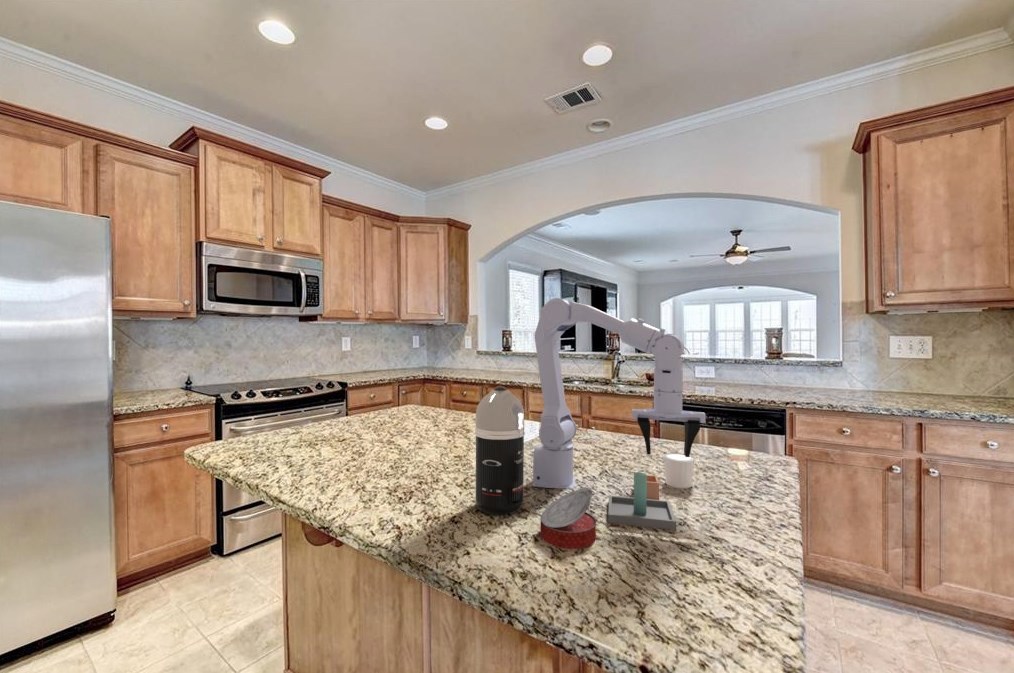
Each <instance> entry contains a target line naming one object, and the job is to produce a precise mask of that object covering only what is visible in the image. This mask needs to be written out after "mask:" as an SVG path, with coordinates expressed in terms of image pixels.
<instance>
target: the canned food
mask: <svg viewBox="0 0 1014 673" xmlns="http://www.w3.org/2000/svg"><path fill="white" fill-rule="evenodd" d="M592 496H593V490H591V489H590V488H588V487H585V488H579V489H576V490H573V491H570V492H568V493H567V494H564V495H562V496H560V497H559V498H557V499H555V500H554V501H552V502H550V504H549V505H548V506H547V507H545V508H544V511H543V512H542V514H541V515H540V518H539V519H540V528H539V529H540V531H539V532H540V533H539V534H540V538H541V539H542V541H544V542H545V543H546V544H548V545H550V546H553V547H556V548H561V549H567V550H577V549H584V548H588V547H589V546H592V545H594V543H595V542H596V539H597V521H596V518H595V516H593V515H591V514H590V513H588V512H587V510H588V509H589V507H590V505H591V504H590V503H591V500H592Z"/></svg>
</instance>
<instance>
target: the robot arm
mask: <svg viewBox="0 0 1014 673" xmlns="http://www.w3.org/2000/svg"><path fill="white" fill-rule="evenodd" d="M539 313H540V316H539V319H538V322H537V326H536V328H535V332H534V343H535V351H536V352H535V353H536V357H537V365H538V373H539V379H540V380H539V381H540V387H541V394H542V402H543V410H542V412H541V416H540V427H539V431H538V437H539V440H540V442H541V444H540V445H539V444H538V445H537V444H536V445H535V446H534V449H533V460H532V462H533V463H532V487H535V488H536V487H537V488H546V489H557V488H558V489H565V490H566V489H567V490H568V489H569V490H573V489H574V487H575V483H576V479H577V478H576V477H574V444H573V439H575V437H576V434H577V429H578V428H577V424H576V422H575V421H574V419H573V416H572V413H571V410H570V408H569V406H568V405H567V403H566V397H565V396H566V395H565V388H564V381H563V374H562V366H561V360H560V353H559V352H560V351H559V346H558V340H559V339H560V337H561V336H562V335H563V334H564V333H565V332H566V330H567V331H568V330H569V329H570V328H572V327H573V326H575V325H576V324H578V323H581V324H582V323H590V324H592V325H595V326H597V327H600V328H603V329H605V330H607V331H610V332H612V333H614V334H617V335H618V336H619V337H620V340H621V342H622V343H623V344H625V345H627V346H630V347H632V348H635V349H637V350H638V351H642V352H643V353H646V354H649V355H650V354H652V355H653V357H654V371H653V375H654V376H653V408H636V409H635V408H632V409H631V419H632V420H637V424H638V426H639V428H640V429H639V430H641V434H642V436H643V439H644V440H643V441H644V443H645V451H646V455H650V456H651V453H652V452H651V451H652V450H651V421H670V422H671V421H673V422H684V423H683V424H684V446H683V447H684V448H683V454H684V455H685V457H689V456H691V449H692V447H693V444H694V440H695V439H696V437H697V435H698V434H699V432H700V430H701V427H702V425H701V424H706V413H705V412H702V411H692V410H691V411H690V410H683V390H684V389H683V387H684V386H683V383H684V382H683V376H684V375H683V372H684V370H683V357H682V356H683V354H684V352H685V344H684V342H683V341H682V339H681V338H680V336H679V337H678V336H677V335H675V333H666V329H664V328H661V327H660V329H659V328H657V327H654V326H652V325H650V324H647V323H645V319H642V318H637V319H636V318H631V319H629V320H626V321H624V320H622V319H620V318H617V317H616V316H613V315H611V314H609V313H607V312H605V311H602V310H600V309H598V308H596V307H594V306H592V305H588V304H585V303H584V304H582V303H579V302H575V301H574V300H566V299H562V298H559V297H553V298H550V299H549V300H548V301H547V302H545V304H544V305H543V306H542V308H541V309H540V310H539ZM665 333H666V334H665ZM650 420H651V421H650Z"/></svg>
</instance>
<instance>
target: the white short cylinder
mask: <svg viewBox="0 0 1014 673" xmlns="http://www.w3.org/2000/svg"><path fill="white" fill-rule="evenodd" d="M663 464H664V476H665V484H667V486H669V487H671V488H675V489H676V488H677V489H689V488H691V487H692V485H693V475H694V466H695V457H693V456H691V455H689V457H685V455H684V453H676V452H673V453H672V452H671V453H665V454H663Z"/></svg>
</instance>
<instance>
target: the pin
mask: <svg viewBox="0 0 1014 673" xmlns="http://www.w3.org/2000/svg"><path fill="white" fill-rule="evenodd" d="M647 475H648V474H646V473H644V472H640V471H639V472H634V473H633V498H634V513H635V514H638V515H646V508H647Z"/></svg>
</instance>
